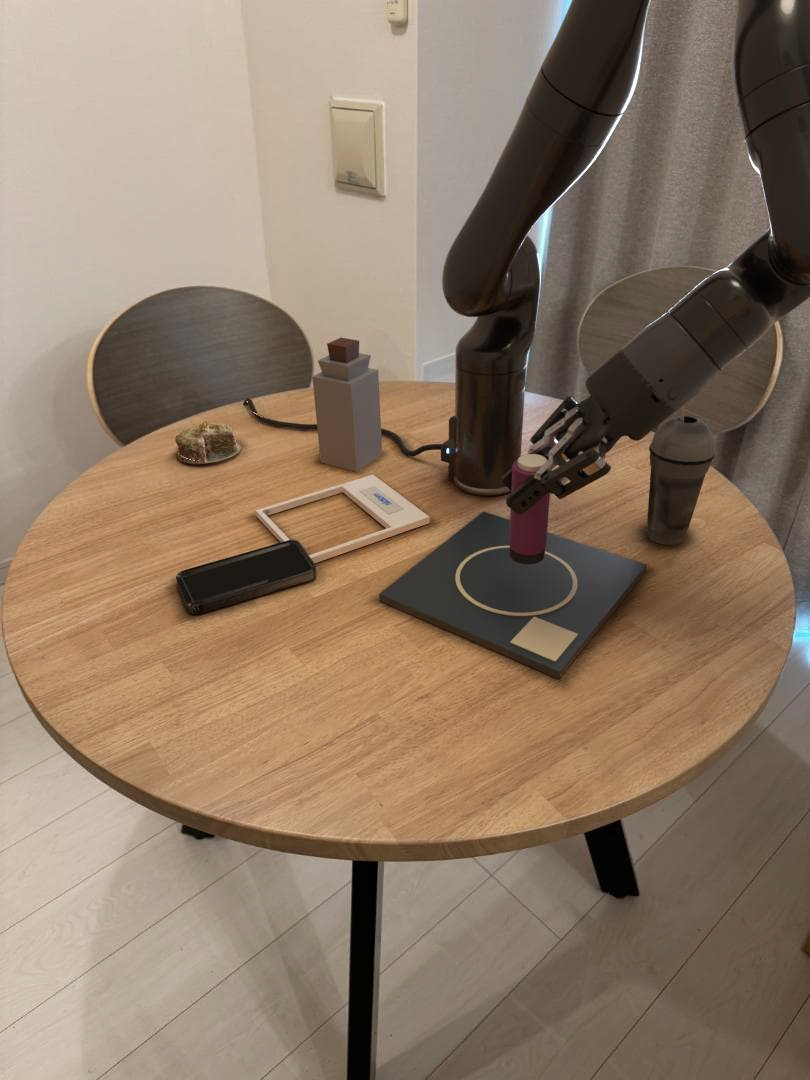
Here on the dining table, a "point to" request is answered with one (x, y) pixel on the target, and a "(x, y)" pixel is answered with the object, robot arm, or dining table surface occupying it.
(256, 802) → the dining table surface
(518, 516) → the dot marker
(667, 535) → the beverage cup
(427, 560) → the slate board
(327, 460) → the perfume bottle
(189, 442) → the cake
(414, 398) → the dining table surface
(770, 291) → the robot arm
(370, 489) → the photo frame
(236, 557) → the phone
